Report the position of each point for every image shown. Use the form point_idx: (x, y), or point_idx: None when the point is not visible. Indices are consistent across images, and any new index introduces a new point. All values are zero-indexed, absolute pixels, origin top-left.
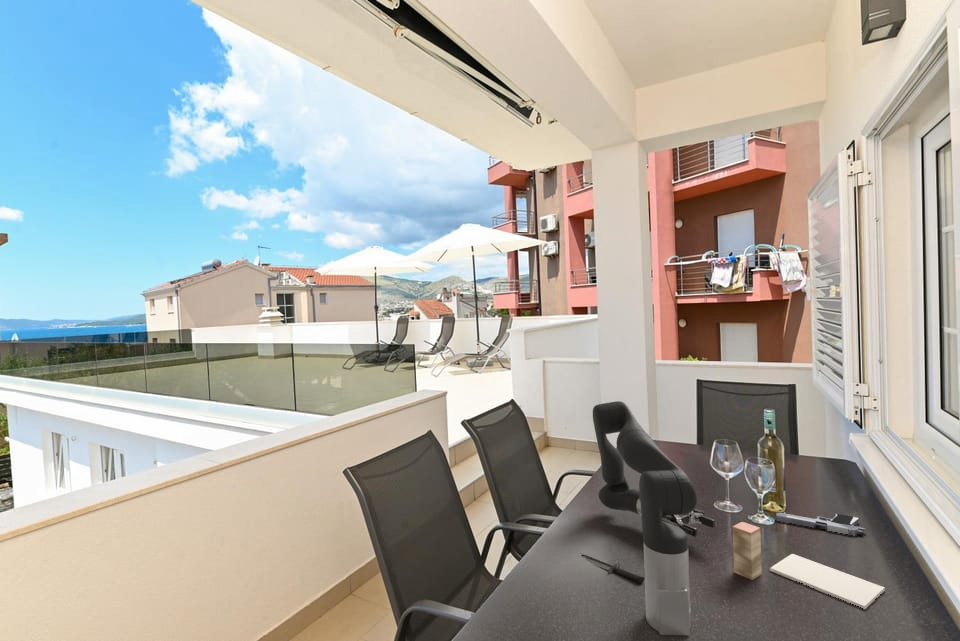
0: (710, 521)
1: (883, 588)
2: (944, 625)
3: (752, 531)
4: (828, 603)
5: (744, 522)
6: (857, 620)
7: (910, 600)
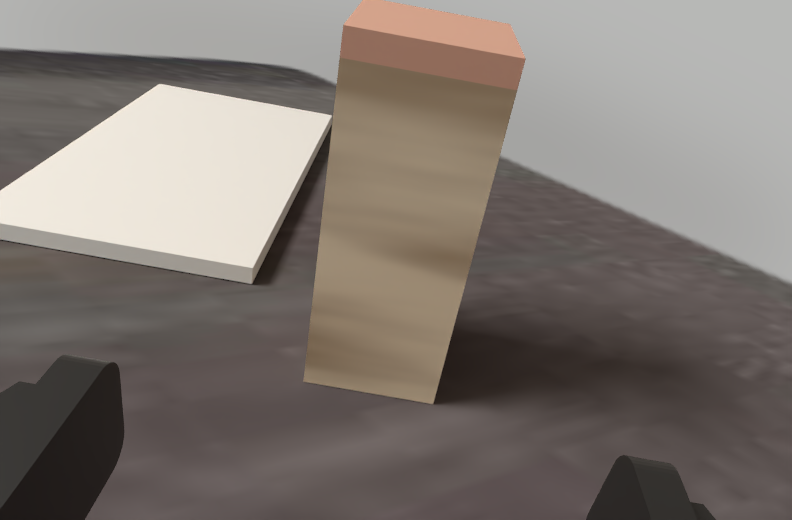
0: (87, 421)
1: (168, 86)
2: (275, 68)
3: (476, 18)
4: None
5: (349, 20)
6: None
7: (184, 78)
